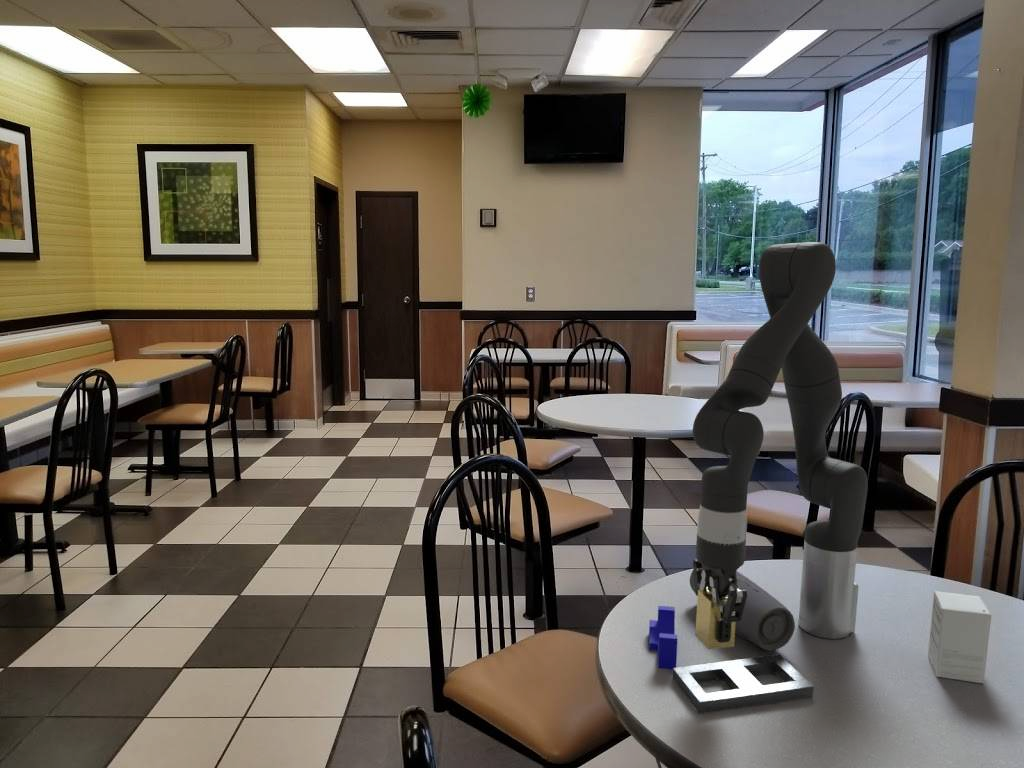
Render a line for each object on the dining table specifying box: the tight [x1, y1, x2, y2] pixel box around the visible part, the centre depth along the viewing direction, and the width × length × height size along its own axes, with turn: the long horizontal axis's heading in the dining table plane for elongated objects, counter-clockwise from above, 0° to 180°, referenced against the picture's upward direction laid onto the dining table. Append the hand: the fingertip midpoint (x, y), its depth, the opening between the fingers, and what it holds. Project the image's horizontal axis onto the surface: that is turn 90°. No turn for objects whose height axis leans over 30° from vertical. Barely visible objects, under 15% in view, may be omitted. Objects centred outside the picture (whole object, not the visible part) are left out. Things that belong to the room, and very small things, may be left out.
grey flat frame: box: [671, 654, 815, 715], centre depth 125 cm, size 20×10×2 cm, turn 103°
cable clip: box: [648, 605, 678, 671], centre depth 136 cm, size 12×4×6 cm, turn 170°
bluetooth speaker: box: [689, 569, 796, 651], centre depth 144 cm, size 23×9×10 cm, turn 17°
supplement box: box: [927, 590, 992, 684], centre depth 129 cm, size 7×7×13 cm
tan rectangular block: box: [695, 589, 736, 650], centre depth 121 cm, size 4×4×8 cm
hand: (715, 632), depth 122 cm, fingers closed on tan rectangular block, 4 cm apart
